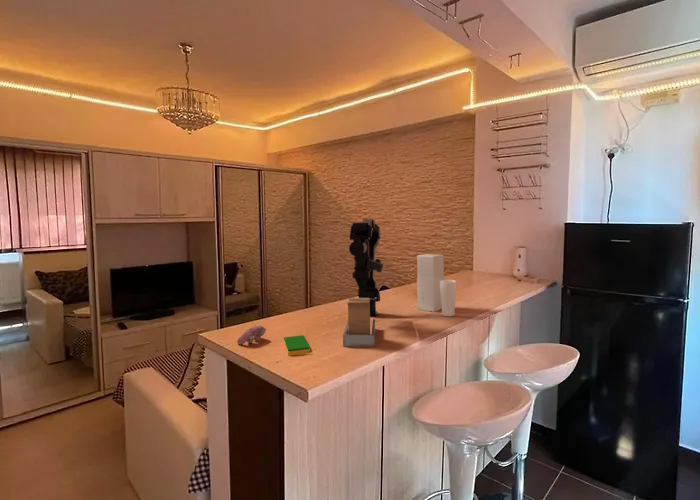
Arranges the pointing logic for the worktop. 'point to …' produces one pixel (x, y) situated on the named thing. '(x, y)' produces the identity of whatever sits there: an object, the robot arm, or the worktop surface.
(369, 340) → the metal bay
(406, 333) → the worktop surface
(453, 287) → the drinking glass
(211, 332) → the worktop surface
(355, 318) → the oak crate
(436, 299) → the tall white carton
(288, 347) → the dish sponge
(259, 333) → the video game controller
